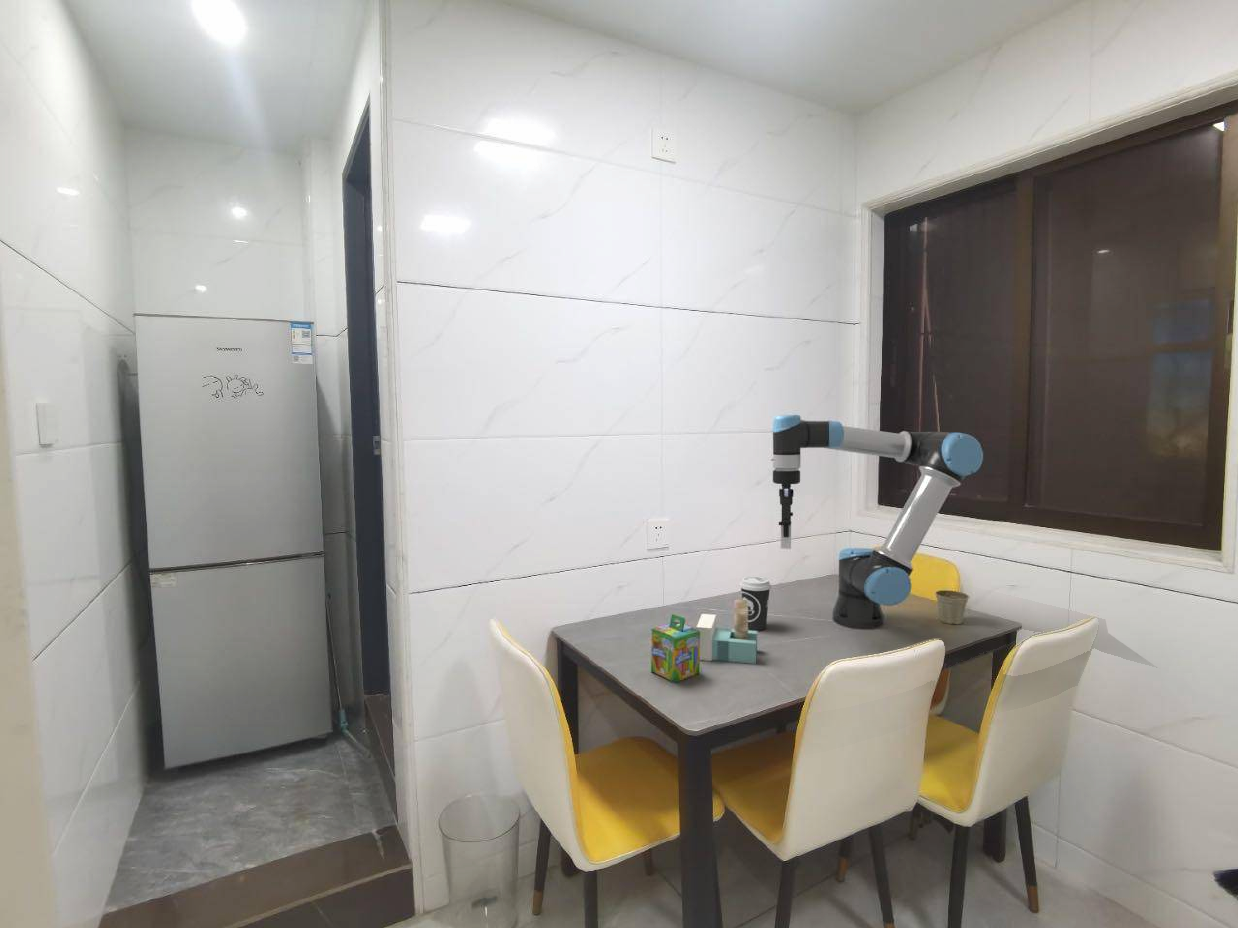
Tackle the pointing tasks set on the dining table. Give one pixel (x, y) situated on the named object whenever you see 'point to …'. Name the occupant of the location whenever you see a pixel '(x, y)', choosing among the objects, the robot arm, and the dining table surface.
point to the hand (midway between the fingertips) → (785, 543)
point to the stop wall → (706, 635)
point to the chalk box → (675, 650)
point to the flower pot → (951, 606)
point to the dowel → (741, 619)
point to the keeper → (734, 646)
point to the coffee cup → (756, 600)
